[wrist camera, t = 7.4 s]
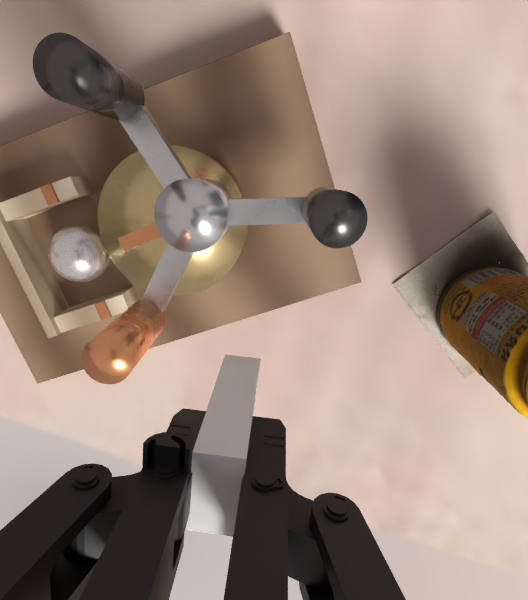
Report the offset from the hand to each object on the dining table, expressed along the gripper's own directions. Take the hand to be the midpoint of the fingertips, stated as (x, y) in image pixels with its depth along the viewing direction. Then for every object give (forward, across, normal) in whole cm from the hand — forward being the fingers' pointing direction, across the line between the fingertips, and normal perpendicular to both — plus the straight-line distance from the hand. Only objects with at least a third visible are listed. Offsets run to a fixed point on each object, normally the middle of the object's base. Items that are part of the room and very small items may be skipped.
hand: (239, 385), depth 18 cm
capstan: (+8, +3, -8) cm, 12 cm away
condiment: (+11, -14, -2) cm, 18 cm away
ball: (+8, +10, -3) cm, 13 cm away
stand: (+11, +7, -5) cm, 13 cm away
